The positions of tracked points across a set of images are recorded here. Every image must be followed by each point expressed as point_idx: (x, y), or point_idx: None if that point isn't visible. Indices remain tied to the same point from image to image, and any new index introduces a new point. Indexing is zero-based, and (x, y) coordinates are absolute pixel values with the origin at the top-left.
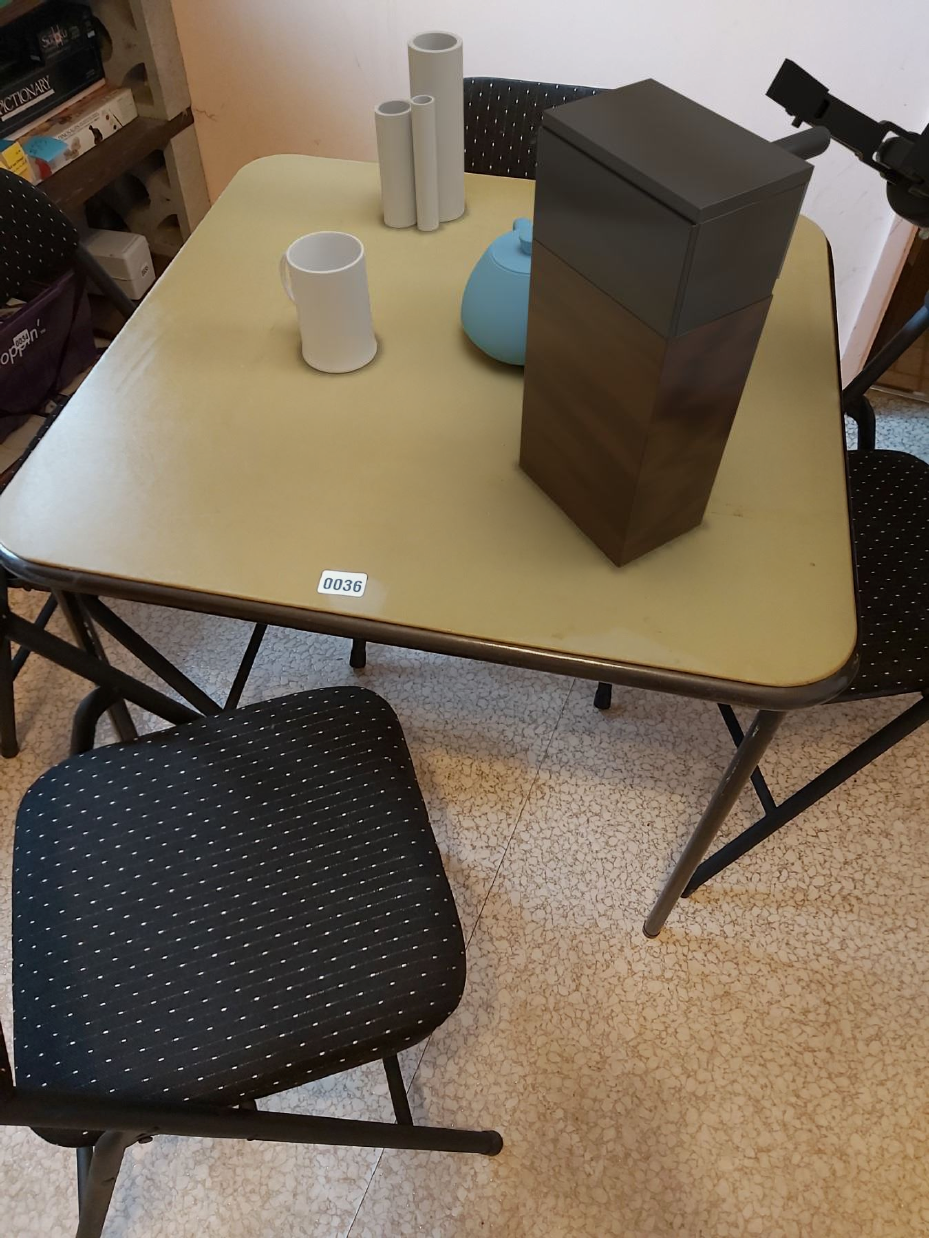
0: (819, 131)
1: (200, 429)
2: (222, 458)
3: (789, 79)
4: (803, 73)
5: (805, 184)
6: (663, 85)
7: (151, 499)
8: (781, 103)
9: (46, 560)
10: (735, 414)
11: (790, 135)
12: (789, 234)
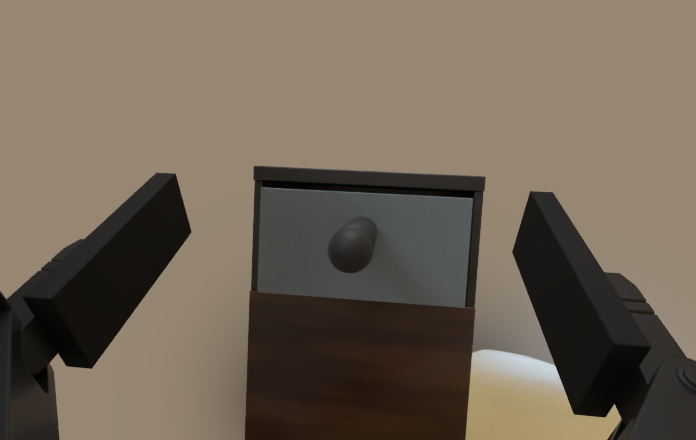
0: (345, 227)
1: (564, 406)
2: (528, 403)
3: (530, 230)
4: (546, 229)
5: (255, 181)
6: (461, 175)
7: (502, 378)
8: (524, 277)
9: (475, 352)
10: (245, 432)
11: (364, 225)
12: (253, 226)
